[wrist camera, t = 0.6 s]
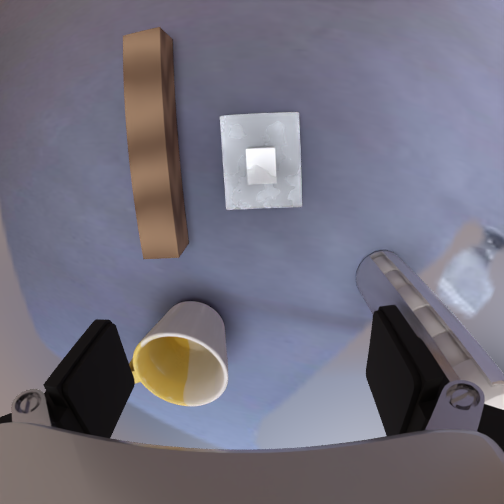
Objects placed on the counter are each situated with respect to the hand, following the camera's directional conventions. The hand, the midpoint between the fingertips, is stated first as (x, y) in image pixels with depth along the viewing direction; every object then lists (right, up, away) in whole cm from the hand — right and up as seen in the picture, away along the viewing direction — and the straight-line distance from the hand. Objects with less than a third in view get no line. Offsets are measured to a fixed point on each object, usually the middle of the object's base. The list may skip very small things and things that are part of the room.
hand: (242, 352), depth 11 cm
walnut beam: (-10, +16, +22) cm, 29 cm away
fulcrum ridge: (+1, +13, +23) cm, 26 cm away
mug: (-8, -6, +30) cm, 32 cm away
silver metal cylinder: (+16, +1, +27) cm, 31 cm away
